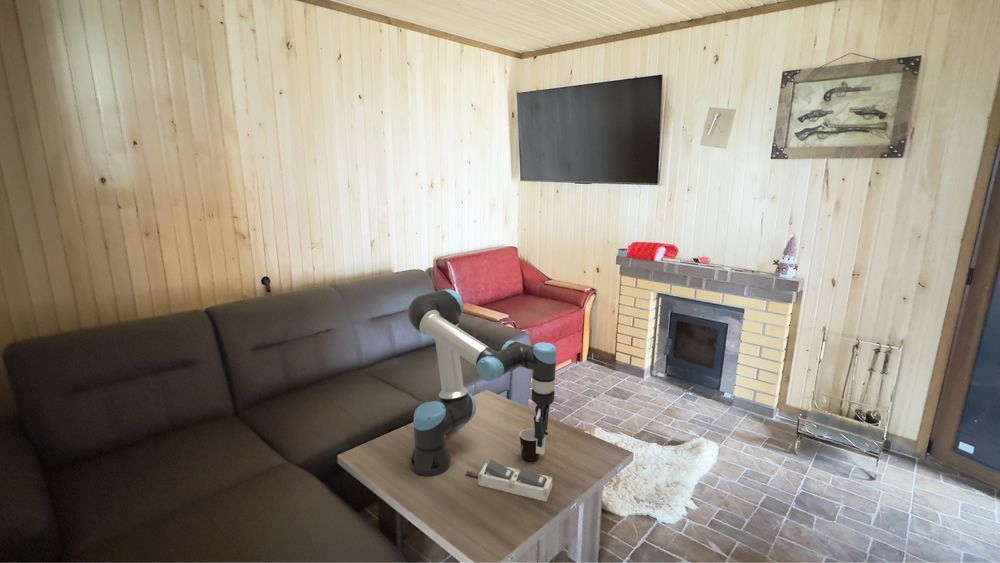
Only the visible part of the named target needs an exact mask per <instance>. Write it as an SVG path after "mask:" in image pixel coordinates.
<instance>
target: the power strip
mask: <svg viewBox="0 0 1000 563" xmlns="http://www.w3.org/2000/svg"><path fill="white" fill-rule="evenodd" d="M488 463H489V462H487V461H486V462H485V464H484V465H483V466H482V469H481V470H480V471H479V473H478V472H473V471H469V470H467V471H466V474H465V475H466V476H469V477H474V478H477V485H478V486H481V487H484V488H489V489H493V490H496V491H501V492H504V493H510V494H513V495H517V496H522V497H526V498H529V499H535V500H538V501H542V502H545V503H546V502H547V501H548V498H549V496H550V493H551V491H552V489H553V477H552V476H548V475H545V474H544V475H543V474H540V473H538V474H539V475H541V476H544V477H546V479H545V483H544V485H543V487H542V488H541V487H537V486H533V485H529V484H526V483H524V482H522V481H519V480H517V477H518V474H519V472H520V470H521V469H517V468H513V467H507V466H506V467H507V468H508V469H510V470H512V471H513V473H512V476H511V478H510V479H509V480H508V479H503V478H499V477H495V476H494V475H492V474H490V473H488V472H486V471H485V469H486V466H487V465H488Z"/></svg>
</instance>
